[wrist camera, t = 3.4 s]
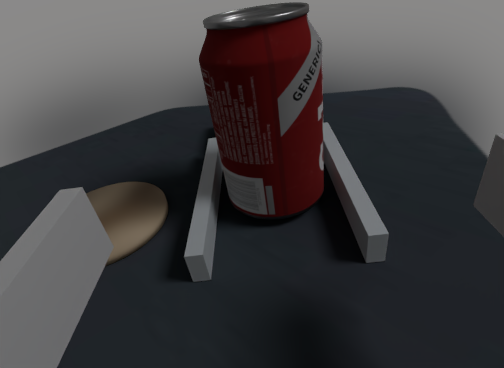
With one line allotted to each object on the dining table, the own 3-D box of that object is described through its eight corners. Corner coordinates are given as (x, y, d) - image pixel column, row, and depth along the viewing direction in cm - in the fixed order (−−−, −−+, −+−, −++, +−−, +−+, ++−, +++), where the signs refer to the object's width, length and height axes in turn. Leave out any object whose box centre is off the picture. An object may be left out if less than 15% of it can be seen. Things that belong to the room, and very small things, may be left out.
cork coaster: (11, 254, 22) (6, 248, 21) (107, 181, 28) (104, 176, 28) (106, 287, 18) (102, 281, 18) (191, 195, 25) (189, 189, 24)
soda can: (265, 243, 19) (231, 28, 13) (214, 195, 24) (171, 22, 18) (344, 197, 22) (351, -1, 15) (284, 162, 27) (269, 1, 20)
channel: (384, 260, 17) (388, 233, 16) (193, 281, 18) (183, 256, 17) (327, 143, 29) (327, 122, 28) (213, 158, 29) (208, 138, 28)
